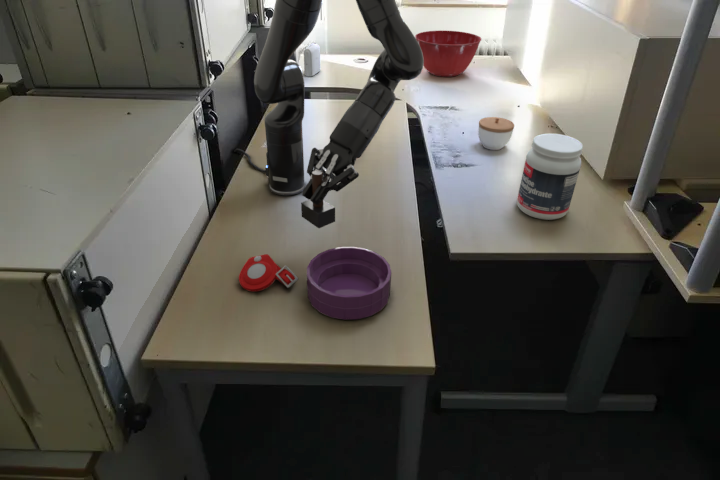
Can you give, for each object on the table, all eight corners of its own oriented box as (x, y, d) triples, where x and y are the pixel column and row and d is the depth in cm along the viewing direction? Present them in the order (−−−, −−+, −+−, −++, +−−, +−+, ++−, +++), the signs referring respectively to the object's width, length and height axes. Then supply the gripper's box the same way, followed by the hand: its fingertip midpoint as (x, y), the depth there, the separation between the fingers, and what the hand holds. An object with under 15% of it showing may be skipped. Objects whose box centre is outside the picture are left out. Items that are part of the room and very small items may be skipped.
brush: (301, 216, 113) (299, 170, 107) (318, 210, 115) (317, 164, 109) (318, 228, 109) (317, 181, 103) (335, 221, 112) (335, 174, 105)
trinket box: (510, 141, 172) (515, 114, 167) (509, 155, 163) (514, 126, 158) (477, 137, 174) (481, 110, 169) (474, 150, 165) (478, 121, 160)
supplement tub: (506, 208, 135) (519, 141, 125) (532, 192, 143) (546, 127, 133) (552, 228, 128) (570, 158, 118) (577, 210, 135) (596, 142, 125)
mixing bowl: (401, 67, 242) (403, 32, 234) (453, 61, 253) (457, 27, 244) (433, 85, 221) (437, 46, 213) (489, 77, 231) (495, 41, 223)
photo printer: (312, 77, 227) (311, 47, 220) (303, 76, 228) (302, 46, 221) (321, 71, 235) (321, 42, 228) (313, 69, 236) (312, 41, 229)
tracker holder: (235, 291, 103) (237, 253, 110) (243, 304, 107) (244, 266, 113) (295, 278, 103) (293, 240, 109) (301, 291, 106) (299, 254, 113)
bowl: (291, 290, 106) (290, 266, 102) (353, 260, 115) (353, 237, 111) (342, 334, 96) (343, 309, 92) (406, 297, 105) (408, 273, 101)
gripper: (325, 110, 109) (278, 180, 109) (369, 130, 101) (319, 206, 101) (344, 128, 115) (300, 194, 115) (388, 149, 107) (341, 221, 107)
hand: (309, 199), depth 108 cm, fingers closed on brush, 2 cm apart
